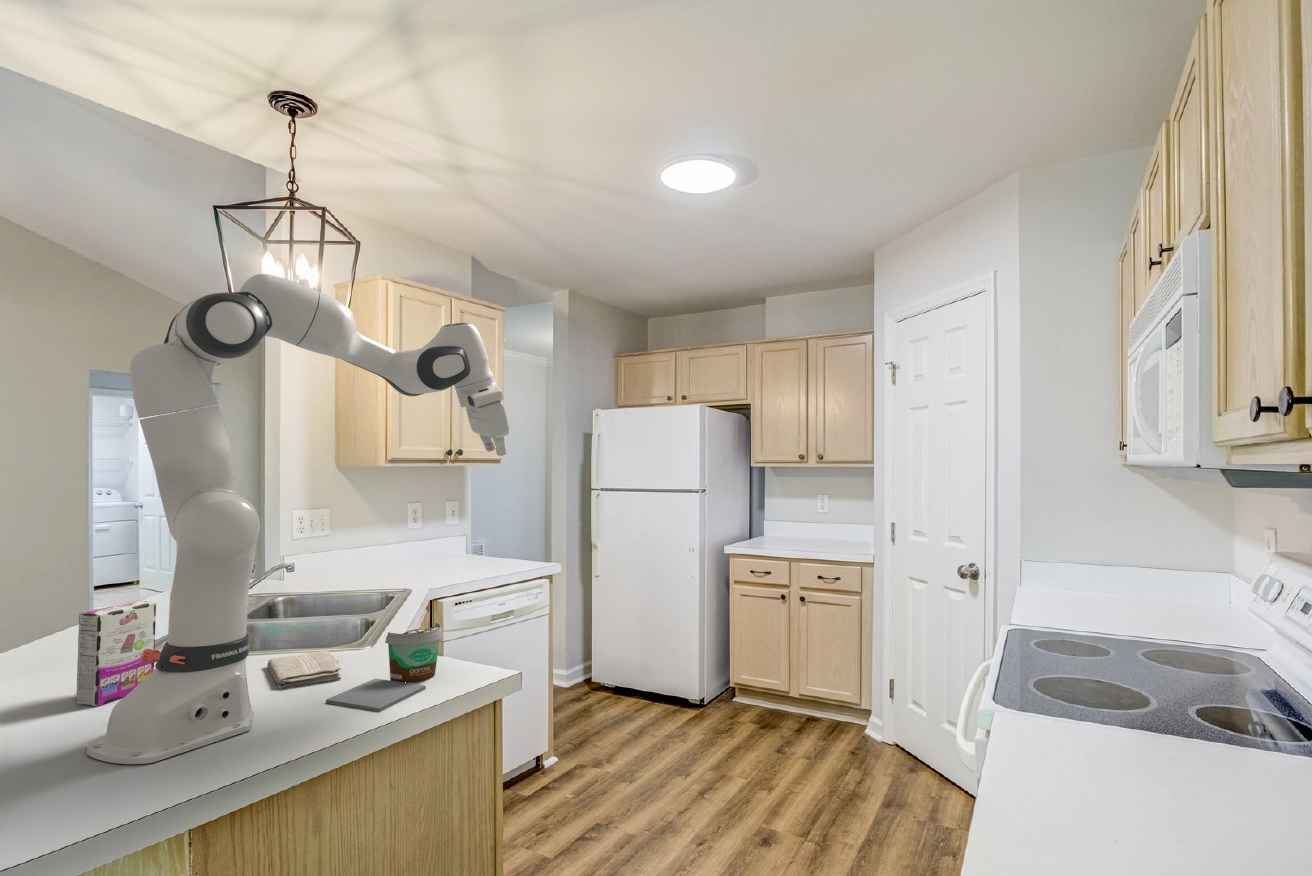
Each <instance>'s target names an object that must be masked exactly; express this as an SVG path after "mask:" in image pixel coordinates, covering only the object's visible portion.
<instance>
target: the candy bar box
mask: <svg viewBox="0 0 1312 876" xmlns="http://www.w3.org/2000/svg"><path fill="white" fill-rule="evenodd" d="M156 610H157V602H155V601H145V600H136V601H131V602H126V603H122V604H116V605H113V606H109V607H108V606H107V607H104V608H103V607H102V608H100V609H99V608H98V609H94V610H90V611H86V612H80V613H79V614H78V637H77V638H78V640H77V664H76V665H77V668H76V669H77V670H76V671H77V672H76V694H75V695H76V696H75V697H76V698H75V701H76V702H75V704H76V705H78V704H80V705H79V706H85V705H86V706H87V707H94V708H95V707H100V706H102V705H106V704H109V703H112V702H114V700H115V701H117V700H116V699H118V700H121V699H123V698H124V697H125V696H126V695H127V694H128V693H130V692H131V691H132V690H133V689H134V688H135V687H136V686H137V685H139V684H140V683H141V682H142V681H143V680H144V679H145V678H146V677H147V676H148V675H149V674H151V673H152V672H153V671H154V670H155V663H150V662H143V661H144V660H141V659H142V658H140V656H143V655H141V654H142V653H145V652H143V651H144V650H146V649H152V650H156V649H155V646H156V645H155V643H156V642H155V641H156V617H157V616H156V615H157V611H156ZM111 701H112V702H111Z"/></svg>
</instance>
